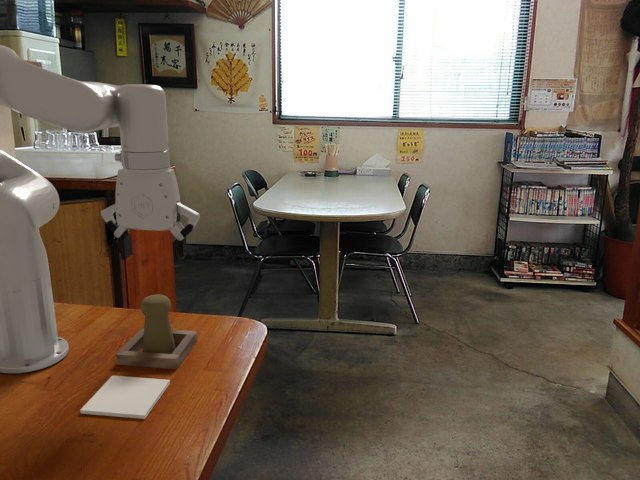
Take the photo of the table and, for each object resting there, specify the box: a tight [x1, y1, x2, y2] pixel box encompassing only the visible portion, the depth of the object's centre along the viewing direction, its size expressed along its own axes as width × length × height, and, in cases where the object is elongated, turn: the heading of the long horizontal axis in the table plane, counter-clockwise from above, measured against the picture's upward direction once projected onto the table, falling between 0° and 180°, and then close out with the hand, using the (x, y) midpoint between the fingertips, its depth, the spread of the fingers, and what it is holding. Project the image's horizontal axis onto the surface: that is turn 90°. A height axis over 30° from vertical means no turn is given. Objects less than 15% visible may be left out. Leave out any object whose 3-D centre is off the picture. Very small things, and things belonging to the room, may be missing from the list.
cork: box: [140, 293, 177, 354], centre depth 96 cm, size 6×6×11 cm
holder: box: [115, 327, 199, 370], centre depth 98 cm, size 11×11×2 cm
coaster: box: [79, 375, 171, 420], centre depth 83 cm, size 10×10×1 cm
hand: (153, 258), depth 93 cm, fingers open, 9 cm apart
